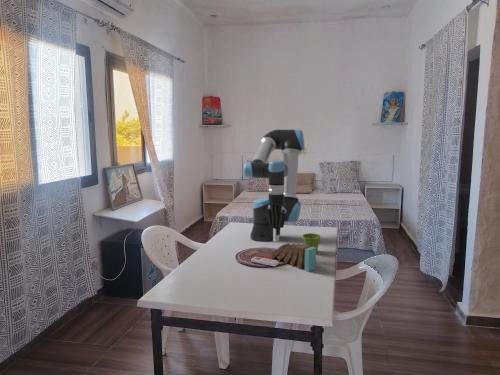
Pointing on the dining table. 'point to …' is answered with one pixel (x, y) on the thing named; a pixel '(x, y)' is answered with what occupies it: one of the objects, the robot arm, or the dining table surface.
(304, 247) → the domino
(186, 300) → the dining table surface
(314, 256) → the domino
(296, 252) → the domino
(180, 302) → the dining table surface
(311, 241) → the plant pot
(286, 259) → the domino
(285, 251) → the domino
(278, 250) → the domino
